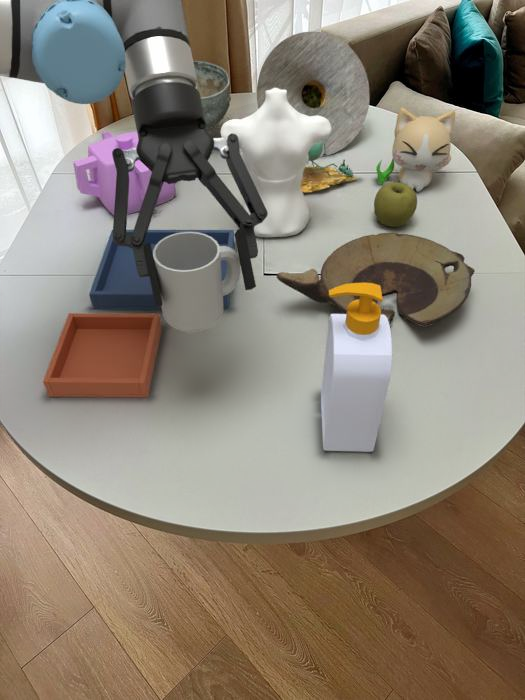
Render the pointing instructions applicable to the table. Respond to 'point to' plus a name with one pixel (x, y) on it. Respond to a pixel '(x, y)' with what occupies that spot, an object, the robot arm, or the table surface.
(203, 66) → the bowl
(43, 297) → the table surface
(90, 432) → the table surface
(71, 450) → the table surface
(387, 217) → the apple
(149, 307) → the blue tray
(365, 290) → the soap bottle
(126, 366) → the terracotta tray
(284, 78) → the disc
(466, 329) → the table surface
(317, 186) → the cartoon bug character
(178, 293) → the cup
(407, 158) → the kitten
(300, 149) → the torso sculpture
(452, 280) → the pottery shard
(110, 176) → the teakettle
